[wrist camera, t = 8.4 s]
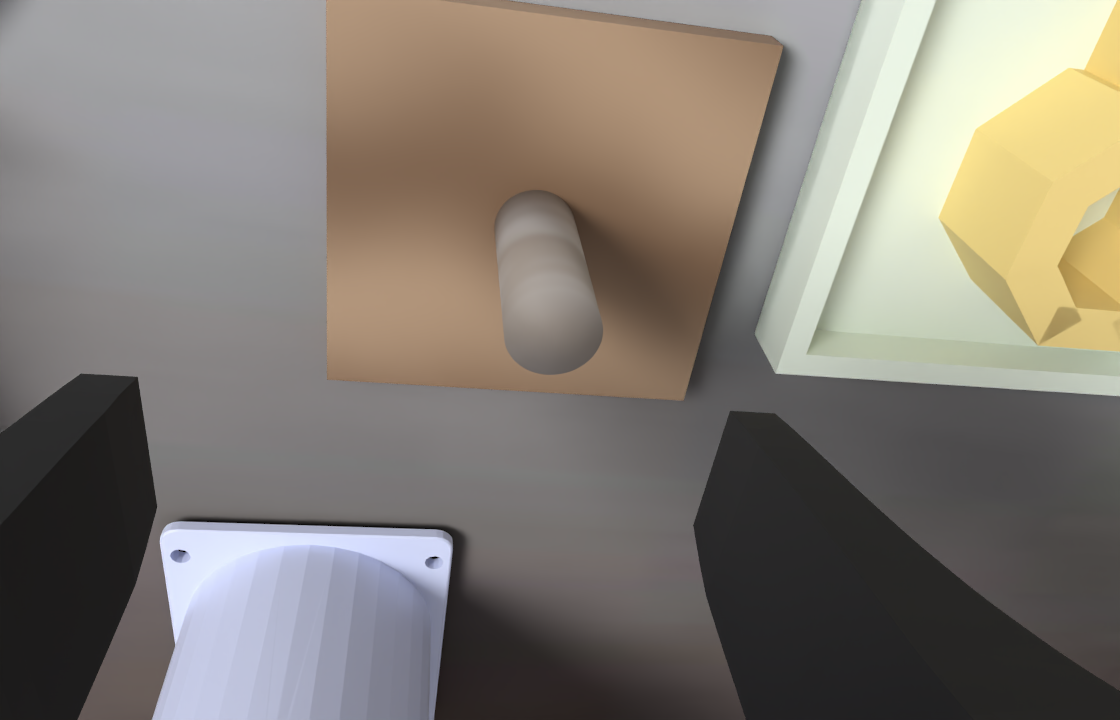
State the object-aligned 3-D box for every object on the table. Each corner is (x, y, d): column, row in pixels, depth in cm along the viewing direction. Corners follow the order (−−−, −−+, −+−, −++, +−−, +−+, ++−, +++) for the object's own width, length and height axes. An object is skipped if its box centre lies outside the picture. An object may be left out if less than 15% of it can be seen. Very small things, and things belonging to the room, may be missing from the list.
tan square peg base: (677, 382, 23) (727, 521, 19) (330, 361, 22) (300, 507, 17) (771, 36, 18) (869, 117, 14) (331, -24, 17) (289, 48, 12)
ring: (1258, 9, 18) (1385, 47, 16) (1101, 290, 22) (1182, 356, 20) (1039, -25, 17) (1136, 10, 15) (914, 274, 21) (974, 341, 19)
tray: (1143, 362, 24) (1187, 400, 23) (754, 333, 22) (775, 373, 21) (1430, -96, 18) (1517, -83, 16) (922, -191, 16) (970, -186, 15)
